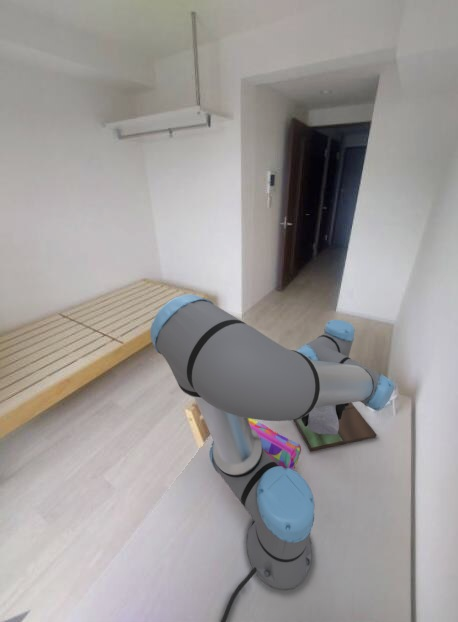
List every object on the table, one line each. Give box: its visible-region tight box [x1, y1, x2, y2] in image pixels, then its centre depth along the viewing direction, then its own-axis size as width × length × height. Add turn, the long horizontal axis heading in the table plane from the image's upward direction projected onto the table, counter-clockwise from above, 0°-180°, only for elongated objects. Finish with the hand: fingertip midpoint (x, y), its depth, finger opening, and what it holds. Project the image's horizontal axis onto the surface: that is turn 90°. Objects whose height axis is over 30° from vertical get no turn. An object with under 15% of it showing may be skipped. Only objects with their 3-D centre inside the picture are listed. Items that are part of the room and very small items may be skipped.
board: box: [292, 402, 378, 453], centre depth 99 cm, size 24×24×2 cm
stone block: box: [308, 405, 339, 435], centre depth 90 cm, size 12×5×10 cm
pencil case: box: [248, 418, 302, 470], centre depth 85 cm, size 22×9×9 cm, turn 55°
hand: (320, 419), depth 90 cm, fingers closed on stone block, 11 cm apart
